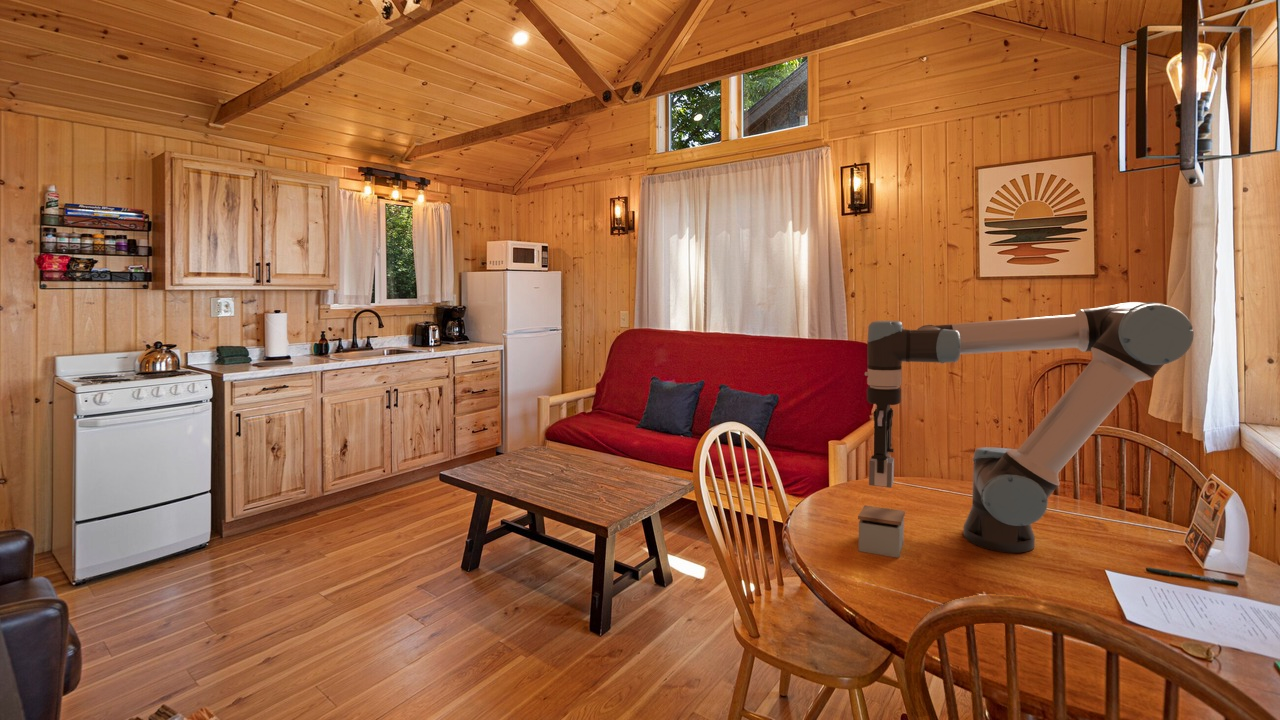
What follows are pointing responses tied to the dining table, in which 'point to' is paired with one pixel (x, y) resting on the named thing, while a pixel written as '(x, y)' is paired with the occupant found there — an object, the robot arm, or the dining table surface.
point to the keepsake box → (881, 538)
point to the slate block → (889, 472)
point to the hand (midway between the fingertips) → (882, 481)
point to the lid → (881, 515)
